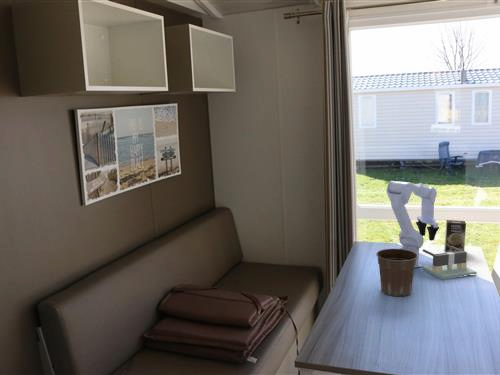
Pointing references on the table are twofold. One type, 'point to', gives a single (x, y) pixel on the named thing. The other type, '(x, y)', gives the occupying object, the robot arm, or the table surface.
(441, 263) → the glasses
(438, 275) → the stand
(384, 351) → the table surface
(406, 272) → the plant pot
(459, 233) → the coffee box
